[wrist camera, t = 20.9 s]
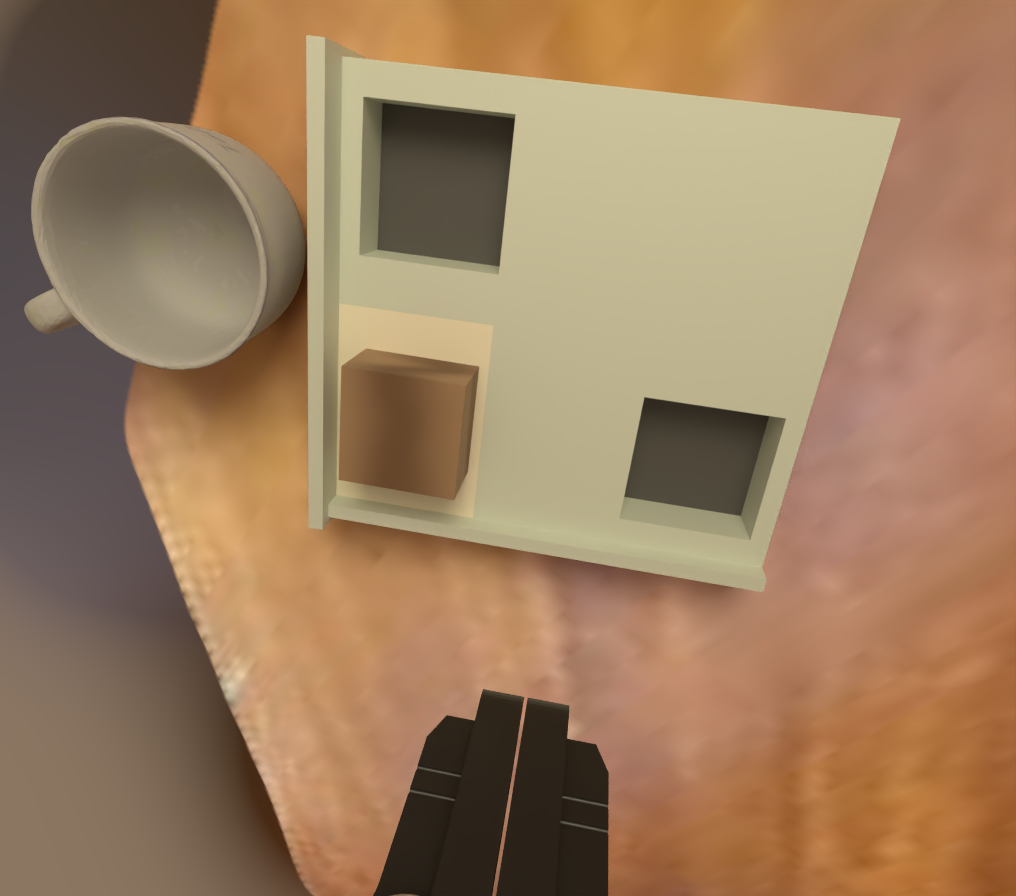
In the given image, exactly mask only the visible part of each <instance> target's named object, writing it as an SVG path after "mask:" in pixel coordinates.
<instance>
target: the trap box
mask: <svg viewBox="0 0 1016 896" xmlns="http://www.w3.org/2000/svg"><path fill="white" fill-rule="evenodd" d="M306 54H307V271H308V488H309V528H314V529H320V530H323V529H324V528H325V526H326V525H327V524H328V523H329V521H330V520H331V519H332V518H337V519H343V520H349V521H355V522H360V523H366V524H372V525H378V526H383V527H389V528H395V529H401V530H407V531H412V532H418V533H424V534H430V535H435V536H441V537H447V538H453V539H458V540H464V541H470V542H476V543H481V544H487V545H493V546H499V547H505V548H510V549H516V550H522V551H528V552H533V553H539V554H545V555H551V556H556V557H562V558H568V559H574V560H579V561H585V562H591V563H597V564H603V565H608V566H614V567H620V568H626V569H631V570H637V571H643V572H649V573H654V574H660V575H666V576H672V577H678V578H683V579H689V580H695V581H701V582H706V583H712V584H718V585H724V586H729V587H735V588H741V589H747V590H752V591H758V592H763V590H764V587H765V584H766V580H767V579H766V577H765V574H764V571H763V569H762V566H763V562H764V559H765V556H766V553H767V549H768V546H769V543H770V540H771V536H772V533H773V530H774V527H775V524H776V520H777V517H778V514H779V511H780V507H781V504H782V501H783V498H784V494H785V491H786V488H787V485H788V481H789V478H790V475H791V472H792V468H793V465H794V462H795V459H796V456H797V452H798V449H799V446H800V443H801V439H802V436H803V433H804V430H805V426H806V423H807V420H808V417H809V413H810V410H811V407H812V404H813V401H814V397H815V394H816V391H817V388H818V384H819V381H820V378H821V375H822V371H823V368H824V365H825V362H826V358H827V355H828V352H829V349H830V345H831V342H832V339H833V336H834V333H835V329H836V326H837V323H838V320H839V316H840V313H841V310H842V307H843V303H844V300H845V297H846V294H847V290H848V287H849V284H850V281H851V278H852V274H853V271H854V268H855V265H856V261H857V258H858V255H859V252H860V248H861V245H862V242H863V239H864V235H865V232H866V229H867V226H868V222H869V219H870V216H871V213H872V210H873V206H874V203H875V200H876V197H877V193H878V190H879V187H880V184H881V180H882V177H883V174H884V171H885V167H886V164H887V161H888V158H889V155H890V151H891V148H892V145H893V142H894V138H895V135H896V132H897V129H898V125H899V122H900V119H901V118H892V117H884V116H875V115H866V114H857V113H848V112H839V111H830V110H821V109H812V108H803V107H794V106H785V105H776V104H767V103H758V102H749V101H740V100H731V99H722V98H713V97H704V96H695V95H686V94H677V93H668V92H659V91H650V90H641V89H632V88H623V87H614V86H605V85H596V84H587V83H578V82H569V81H560V80H551V79H542V78H533V77H524V76H515V75H506V74H497V73H488V72H479V71H470V70H461V69H452V68H443V67H434V66H425V65H416V64H407V63H398V62H389V61H380V60H371V59H365V57H364V56H362V55H360V54H358V53H356V52H354V51H352V50H350V49H348V48H346V47H344V46H342V45H340V44H338V43H336V42H334V41H331V40H329V39H327V38H325V37H318V36H309V35H306ZM365 349H373V350H379V351H385V352H392V353H398V354H404V355H410V356H417V357H423V358H429V359H436V360H442V361H448V362H454V363H461V364H467V365H473V366H479V374H478V383H477V392H476V401H475V411H474V420H473V429H472V438H471V447H470V457H469V466H468V472H467V475H466V477H465V479H464V481H463V483H462V485H461V487H460V489H459V491H458V493H457V495H456V497H455V499H454V500H450V499H444V498H439V497H433V496H427V495H422V494H416V493H410V492H405V491H399V490H393V489H388V488H382V487H376V486H371V485H365V484H359V483H354V482H348V481H342V480H339V441H340V401H341V366H342V365H344V364H345V363H346V362H348V361H349V360H351V359H352V358H353V357H355V356H356V355H358V354H359V353H361V352H362V351H363V350H365Z"/></svg>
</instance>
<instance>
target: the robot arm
mask: <svg viewBox="0 0 1016 896" xmlns="http://www.w3.org/2000/svg"><path fill="white" fill-rule="evenodd" d="M523 701H524V697H521V696H516V695H510V694H505V693H500V692H495V691H490V690H485V689H483V691H482V695H481V699H480V703H479V707H478V711H477V715H476V719H475V721H473V720H468V719H463V718H458V717H453V716H448V715H447V716H446V717H445V718H444V719H443V720H442V721H441V722H440V723H439V724H438V725H437V727H436V728H435V729H434V730H433V731H432V732H431V733H430V734H429V735H428V736H427V738H426V742H425V745H424V748H423V751H422V754H421V757H420V760H419V763H418V767H417V770H416V772H415V775H414V778H413V781H412V784H411V787H410V792H409V794H408V796H407V799H406V802H405V806H404V809H403V812H402V815H401V818H400V821H399V824H398V827H397V830H396V833H395V836H394V839H393V842H392V845H391V848H390V851H389V854H388V857H387V860H386V863H385V867H384V870H383V873H382V876H381V879H380V882H379V884H378V887H377V889H376V892H375V893H374V895H373V896H492V892H493V886H494V880H495V874H496V868H497V862H498V856H499V850H500V844H501V838H502V832H503V826H504V820H505V813H506V807H507V801H508V795H509V789H510V783H511V777H512V771H513V764H514V758H515V752H516V745H517V739H518V733H519V726H520V720H521V714H522V707H523ZM568 719H569V705H563V704H558V703H553V702H548V701H543V700H538V699H532V698H528V700H527V706H526V712H525V719H524V725H523V731H522V737H521V743H520V750H519V756H518V762H517V768H516V775H515V781H514V787H513V793H512V800H511V806H510V812H509V818H508V825H507V831H506V837H505V844H504V850H503V856H502V862H501V869H500V875H499V881H498V888H497V894H496V896H608V774H609V773H608V771H607V768H606V766H605V764H604V762H603V759H602V757H601V755H600V752H599V750H598V748H597V746H596V744H591V743H586V742H581V741H575V740H570V739H567V732H568Z"/></svg>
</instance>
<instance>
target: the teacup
mask: <svg viewBox="0 0 1016 896" xmlns="http://www.w3.org/2000/svg"><path fill="white" fill-rule="evenodd" d="M31 220H32V223H33V234H34V238H35V243H36V246H37V250H38V253H39V256H40V259H41V261H42V263H43V266H44V268H45V271H46V272H47V275H48V277H49V279H50V281H51V284H52V285H53V287H54V289H52V290H49V291H47V292H45V293H43V294H41V295H39V296H38V297H36V298H34V299H32V300H30V301H29V302H28V303H27V304H26V306H25V309H24V310H25V314H26V316H27V318H28V320H29V321H30V322H31V323H32V325H33V326H34V327H35V328H36V329H37V330H38V331H40V332H43V333H53V332H56V331H59V330H62V329H64V328H68V327H70V326H73V325H76V324H78V323H81V324H82V325H83V326H84V327H85V328H86V329H87V330H89V331H90V332H91V333H93V334H94V335H95V336H96V337H97V338H98V339H99V340H100V341H101V342H103V343H104V344H105V345H107V346H108V347H110V348H111V349H113V350H114V351H116V352H118V353H120V354H121V355H123V356H125V357H127V358H130V359H132V360H134V361H136V362H139V363H142V364H145V365H148V366H152V367H156V368H162V369H169V370H184V369H197V368H201V367H205V366H209V365H212V364H214V363H217V362H219V361H221V360H223V359H225V358H227V357H229V356H230V355H232V354H233V353H234V352H235V351H237V350H238V349H239V348H240V347H241V346H242V345H243V344H244V343H246V342H247V341H249V340H250V339H252V338H253V337H255V336H256V335H258V334H259V333H260V332H262V331H263V330H265V329H266V328H267V327H268V326H270V325H271V324H272V323H273V322H275V321H276V320H277V319H278V318H279V317H280V316H281V315H282V313H283V312H284V311H285V310H286V309H287V307H288V306H289V305H290V303H291V302H292V300H293V298H294V297H295V295H296V293H297V291H298V288H299V285H300V283H301V280H302V276H303V272H304V265H305V236H304V231H303V226H302V222H301V218H300V215H299V212H298V210H297V207H296V204H295V202H294V200H293V198H292V196H291V194H290V193H289V191H288V189H287V188H286V186H285V184H284V183H283V182H282V180H281V179H280V178H279V176H278V175H277V174H276V173H275V172H274V170H273V169H272V168H271V167H270V166H269V165H268V164H267V163H266V162H265V161H264V160H263V159H262V158H260V157H259V156H258V155H257V154H256V153H255V152H253V151H252V150H250V149H249V148H248V147H246V146H244V145H243V144H241V143H240V142H238V141H236V140H234V139H232V138H230V137H228V136H225V135H223V134H220V133H218V132H214V131H211V130H208V129H204V128H199V127H194V126H189V125H181V124H173V123H162V122H153V121H149V120H146V119H141V118H131V117H112V118H103V119H99V120H92V121H91V122H89V123H87V124H83V125H81V126H79V127H77V128H75V129H73V130H70V131H69V132H68V134H67V135H65V136H63V137H62V138H60V140H59V142H58V144H57V145H55V146H54V147H53V149H52V150H51V151H50V152H49V153H48V154H47V155H46V158H45V160H44V161H43V163H42V164H41V167H40V168H39V171H38V173H37V176H36V179H35V184H34V190H33V195H32V207H31Z"/></svg>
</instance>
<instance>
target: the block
mask: <svg viewBox="0 0 1016 896" xmlns="http://www.w3.org/2000/svg"><path fill="white" fill-rule="evenodd" d="M478 374H479V366H473V365H467V364H461V363H454V362H448V361H442V360H436V359H429V358H423V357H417V356H410V355H404V354H398V353H392V352H385V351H379V350H373V349H365V350H363V351H362V352H361V353H359V354H358V355H356V356H355V357H353V358H352V359H351V360H349V361H348V362H346V363H345V364H344V365H342V366H341V401H340V441H339V480H342V481H348V482H354V483H359V484H365V485H371V486H376V487H382V488H388V489H393V490H399V491H405V492H410V493H416V494H422V495H427V496H433V497H439V498H444V499H450V500H454V499H455V497H456V495H457V493H458V491H459V489H460V487H461V485H462V483H463V481H464V479H465V477H466V475H467V472H468V466H469V457H470V447H471V438H472V429H473V420H474V411H475V401H476V392H477V383H478Z"/></svg>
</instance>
